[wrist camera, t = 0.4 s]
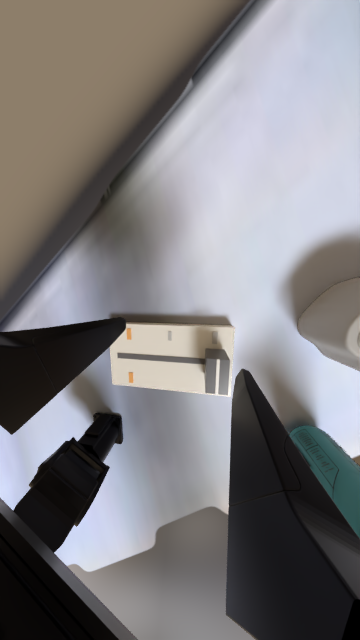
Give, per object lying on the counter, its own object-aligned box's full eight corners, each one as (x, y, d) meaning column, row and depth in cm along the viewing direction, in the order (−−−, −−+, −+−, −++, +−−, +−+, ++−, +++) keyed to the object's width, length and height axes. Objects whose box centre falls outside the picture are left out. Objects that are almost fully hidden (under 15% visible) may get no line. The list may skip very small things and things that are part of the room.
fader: (222, 378, 22) (228, 395, 18) (204, 376, 22) (205, 393, 18) (224, 349, 21) (230, 360, 17) (205, 348, 21) (206, 358, 17)
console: (227, 389, 24) (230, 397, 22) (118, 378, 27) (111, 384, 25) (231, 325, 23) (235, 327, 21) (115, 321, 26) (107, 323, 24)
